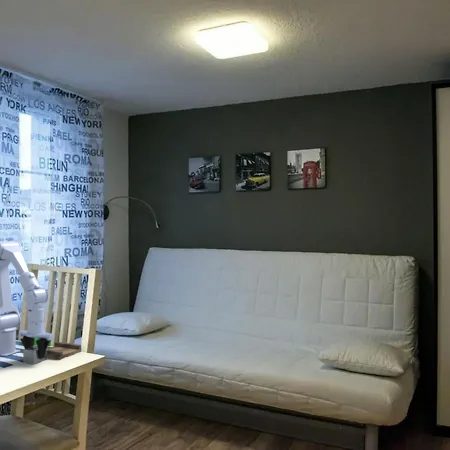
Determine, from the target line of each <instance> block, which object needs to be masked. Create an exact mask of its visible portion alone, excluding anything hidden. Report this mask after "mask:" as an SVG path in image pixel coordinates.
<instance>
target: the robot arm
mask: <svg viewBox="0 0 450 450" xmlns="http://www.w3.org/2000/svg"><path fill="white" fill-rule="evenodd" d="M23 249H24V248H23V246H22V244H21V242H20V241H19V240H9V241H6V240H5V241H3V240H2V241H0V356H2V357H7V356H10V355H13V354H17V353H19V352H21V351H22V349H21V350H20V349H17V348H16V343H17V341H16V340H17V339H16V338H17V330H18V329H19V327H20V325H21V324H22V318H21V317H22V316H21V315H20V312H19V307H17V306H15V305H14V304H13V299H12V288H11V279H10V269H9V268H10V267H9V266H10V264H12V266H13V267H14V269H15V270H16V272H17V273H18V275H19V278H18V282H19V284H20V286H21V287H22V289H23V291H24V293H25V296H24V301H25V305H26V309H27V329H26V330H25V329H22V330H19V331H18V337H21V338H20V342H21V344H22V345H23V349H25V348H28V347H32V346H33V344H34V340H35V338H40V340H37V341H36V343H37V346H38V357H39V359H41V358H44V355H45V352H46V349H47V348H48V347H49V346H48V344H49V343H50V344H51V341H52V340H54V333H49V332H47V331H45V303H47V302H48V300H49V293H48V290H47V288H46V287H43V285H41V284H40V282H38V280H37V278H36V275H35V273H34V272H32V271H29V268H28V266H27V264H26V261H25V258H24V256H23V253H24V251H23ZM47 346H48V347H47Z"/></svg>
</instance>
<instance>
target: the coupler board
mask: <svg viewBox="0 0 450 450" xmlns="http://www.w3.org/2000/svg"><path fill="white" fill-rule="evenodd" d="M79 353H82V344H78V343H70V342H69V343H68V342H61V341H54V346H49V347H47V359H51V360H52V359H53V360H58V361H60V360H62V359H65V357H66V358H68V357H71V356H72V355H76V354H79Z"/></svg>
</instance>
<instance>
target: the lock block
mask: <svg viewBox="0 0 450 450" xmlns="http://www.w3.org/2000/svg"><path fill="white" fill-rule="evenodd" d="M47 348H49V346H47ZM22 353H23V354H22V358H23V359H22V363H23V364H29V365H36V364H38V363H41V362H44V361H47V360H48V358H47V349H46V352H45V355H44V358H41V359H39V357H38V346H37V345H35V346H32V347H28V348H23V352H22Z"/></svg>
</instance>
